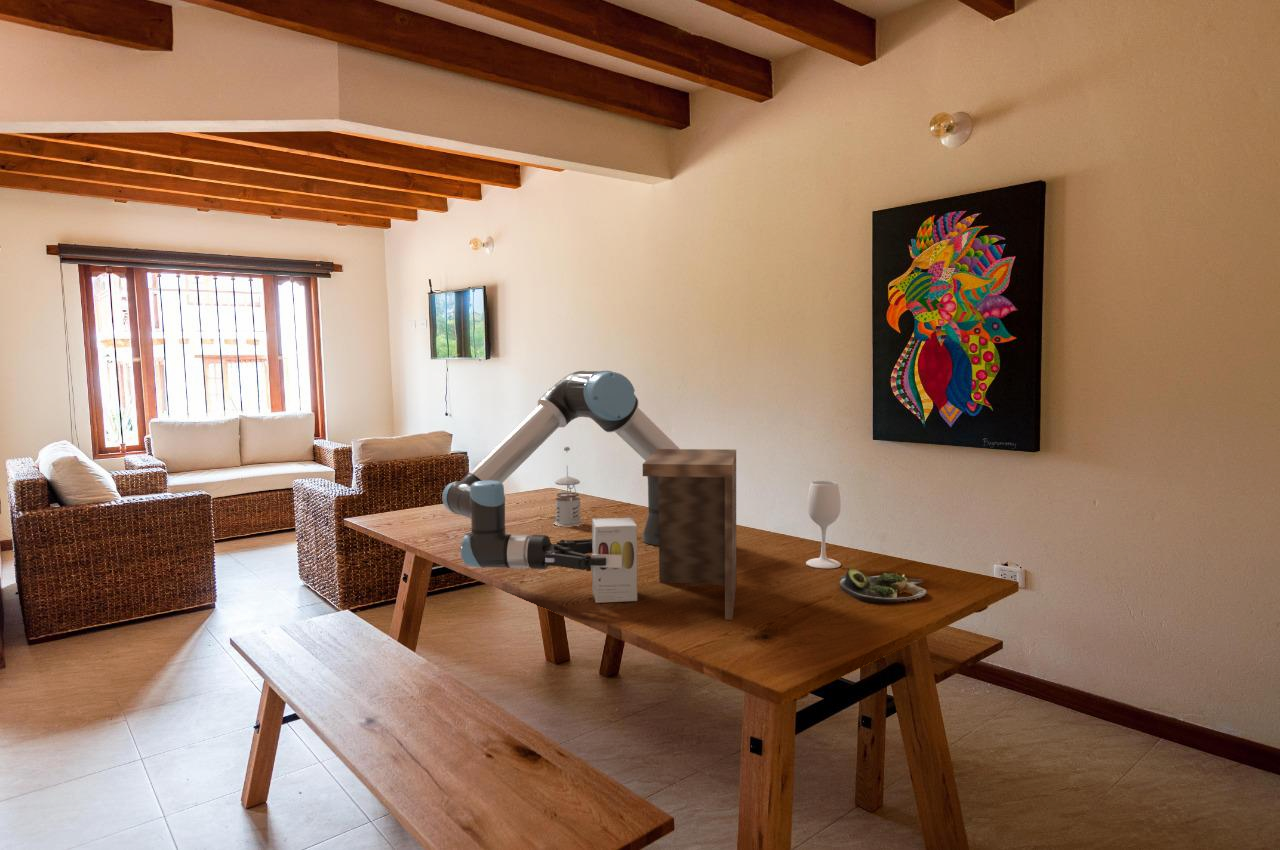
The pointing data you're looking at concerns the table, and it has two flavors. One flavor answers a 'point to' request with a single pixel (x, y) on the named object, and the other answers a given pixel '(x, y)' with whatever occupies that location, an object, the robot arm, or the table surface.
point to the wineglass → (823, 516)
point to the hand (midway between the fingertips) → (626, 554)
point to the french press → (567, 502)
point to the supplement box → (615, 540)
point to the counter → (697, 517)
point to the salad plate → (879, 587)
